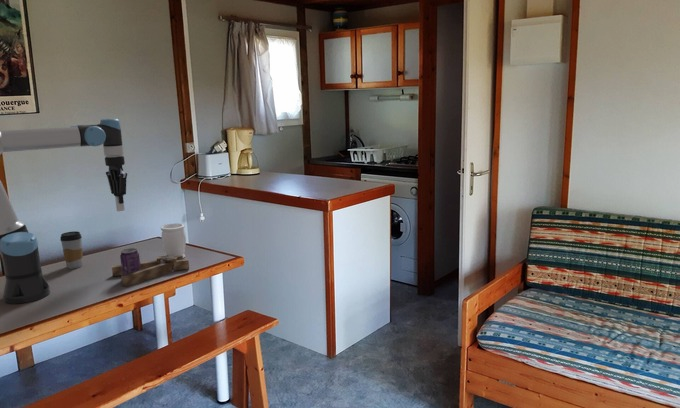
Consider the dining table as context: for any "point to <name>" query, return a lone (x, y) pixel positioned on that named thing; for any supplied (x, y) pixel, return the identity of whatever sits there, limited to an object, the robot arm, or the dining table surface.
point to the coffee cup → (72, 249)
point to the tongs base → (148, 273)
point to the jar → (174, 239)
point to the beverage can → (130, 261)
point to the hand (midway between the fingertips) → (120, 210)
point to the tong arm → (177, 264)
